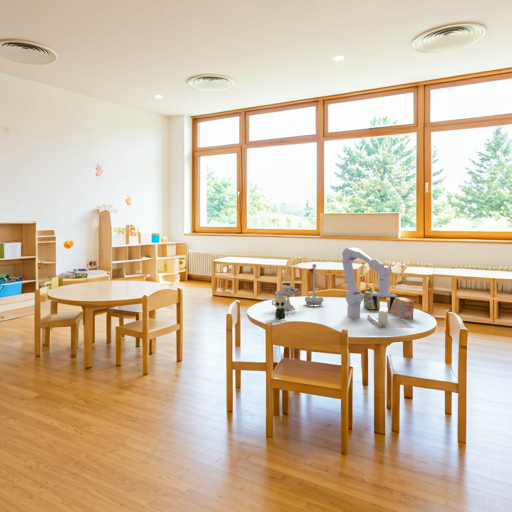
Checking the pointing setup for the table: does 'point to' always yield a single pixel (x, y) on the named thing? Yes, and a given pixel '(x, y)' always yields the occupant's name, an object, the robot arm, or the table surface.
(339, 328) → the table surface
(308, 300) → the flag stand
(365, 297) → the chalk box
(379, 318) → the cream carton
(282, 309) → the character mug
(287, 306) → the tree
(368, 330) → the table surface
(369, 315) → the price rail
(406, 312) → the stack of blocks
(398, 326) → the shelf deck
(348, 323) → the table surface
